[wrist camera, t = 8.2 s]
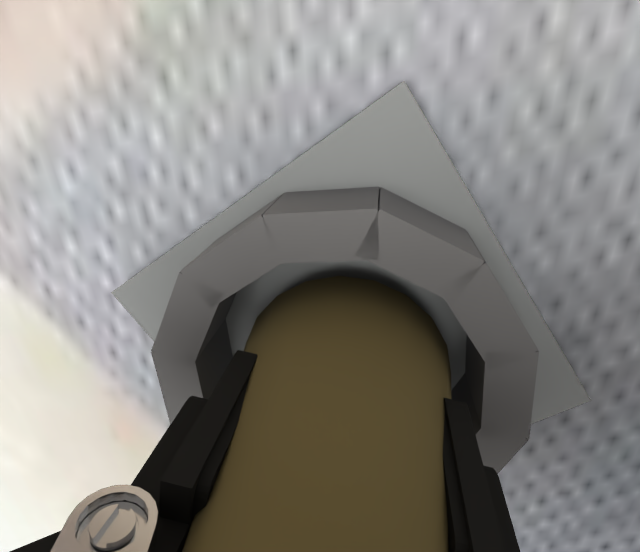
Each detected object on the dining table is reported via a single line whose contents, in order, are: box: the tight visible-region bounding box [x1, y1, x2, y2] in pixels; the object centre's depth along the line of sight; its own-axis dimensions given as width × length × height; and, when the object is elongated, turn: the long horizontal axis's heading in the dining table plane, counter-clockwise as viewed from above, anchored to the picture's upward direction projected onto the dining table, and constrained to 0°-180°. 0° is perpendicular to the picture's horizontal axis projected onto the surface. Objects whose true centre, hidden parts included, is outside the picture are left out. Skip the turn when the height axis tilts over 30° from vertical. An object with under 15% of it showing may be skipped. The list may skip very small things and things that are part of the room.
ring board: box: [111, 81, 591, 474], centre depth 13 cm, size 11×11×4 cm
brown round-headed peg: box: [182, 276, 452, 552], centre depth 8 cm, size 6×6×11 cm
